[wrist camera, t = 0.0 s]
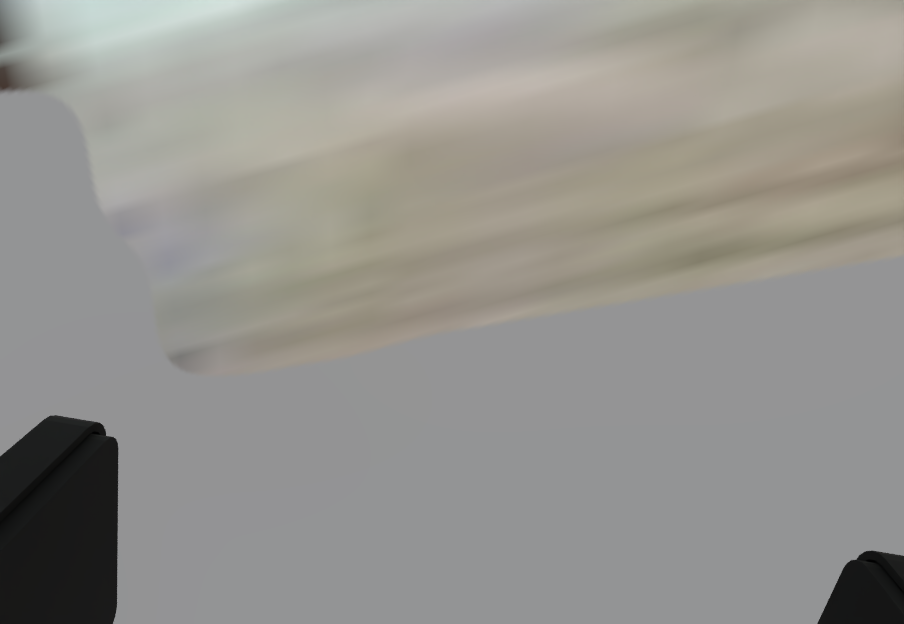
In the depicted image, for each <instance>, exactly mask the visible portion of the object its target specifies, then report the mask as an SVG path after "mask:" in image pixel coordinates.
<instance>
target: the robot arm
mask: <svg viewBox="0 0 904 624" xmlns="http://www.w3.org/2000/svg"><path fill="white" fill-rule="evenodd" d="M117 523H118V443H117V441H116V439H115V438H114V437H109V436H106V431H105V429H104V426H103V425H102V424H101V423H98V422H92V421H86V420H80V419H74V418H68V417H62V416H56V415H55V416H49V417H47V418H46V419H44V420H43V421H42V422H41V423H39V424H38V425H37V426H36V427H35V428H33V429H32V430H31V431H30V432H29V433H28V434H26V435H25V436H24V437H23V438H22V439H21V440H19V441H18V442H17V443H16V444H15V445H13V446H12V447H11V448H10V449H9V450H7V451H6V452H5V453H4V454H3V455H2V456H0V624H113V621H114V618H115V614H116V608H117V531H118V525H117ZM818 624H904V556H901V555H895V554H889V553H883V552H877V551H866V552H864V553H862V554H861V555H859V557H858V558H857V560H851V561H850V562H848V563H847V564H846V565H845V567H844V568H843V571H842V573H841V575H840V577H839V579H838V581H837V583H836V585H835V588H834V590H833V592H832V594H831V596H830V598H829V600H828V603H827V605H826V607H825V609H824V611H823V613H822V615H821V617H820V619H819V621H818Z"/></svg>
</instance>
